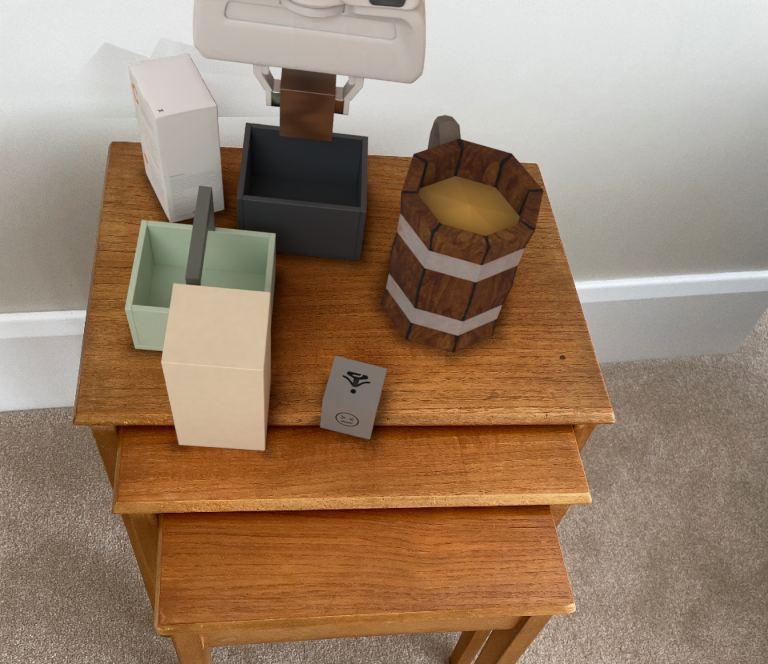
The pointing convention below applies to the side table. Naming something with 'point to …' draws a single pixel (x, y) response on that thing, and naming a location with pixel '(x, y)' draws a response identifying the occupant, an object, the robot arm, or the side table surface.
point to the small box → (177, 133)
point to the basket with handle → (192, 266)
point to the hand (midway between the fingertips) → (308, 106)
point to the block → (307, 104)
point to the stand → (218, 366)
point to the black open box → (304, 191)
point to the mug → (458, 239)
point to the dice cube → (352, 397)
